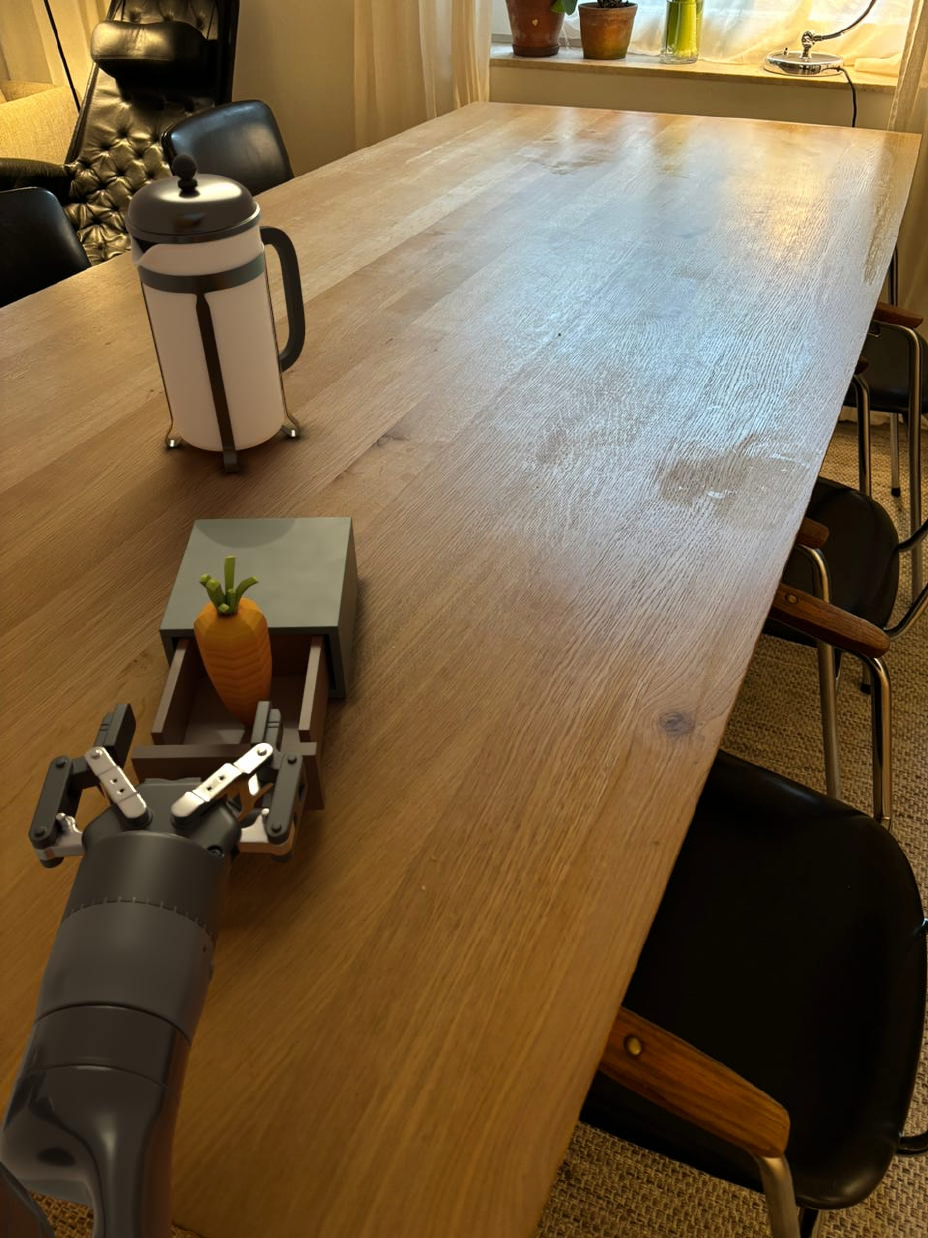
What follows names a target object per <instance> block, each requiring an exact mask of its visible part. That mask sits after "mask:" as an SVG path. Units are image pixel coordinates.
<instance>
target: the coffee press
mask: <svg viewBox="0 0 928 1238" xmlns="http://www.w3.org/2000/svg"><path fill="white" fill-rule="evenodd" d="M197 169H198V164H197V163H196V161H195V159H194V158H193V157H192V156H191V155H189V154H186V153H181V154H177V156H175V157H174V159H173V160H172V163H171V170H172V172H173V173H174V175H171V176H168V177H163V178H160V179H157V180H154V181H152V182H149V183H148V184H145V185H144V186H142V187H141V188H139V189H138V190H137V191H136V192H135V193H134V194H133V196H132V197H131V199H130V200H129V204H128V209H127V212H126V213H125V215H124V217H123V218H124V220H123V221H124V224H125V228H126V231H127V232H128V235H129V239H130V256H131V262H132V265H133V266H134V267H136V271H137V274H138V278H139V281H140V288H141V294H142V297H143V302H144V305H145V311H146V314H147V319H148V322H149V327H150V331H151V332H150V333H151V336H152V340H153V345H154V351H155V354H156V359H157V363H158V366H159V372H160V376H161V380H162V385H163V389H164V394H165V399H166V403H167V406H168V411H169V412H168V413H169V415H170V421H171V422H170V425H169V426H168V428H167V430H166V432H165V437H164V443H165V445H166V446H167V447H169V448H177V447H178V446H179V445H180V444H181V443H182V442H183V441H185V442H186V443H188V444H189V445H191V446H192V447H195V448H198V449H201V450H206V451H211V452H222V454H223V455H222V456H223V463H224V469H225V472H226V473H235V472H240V464H239V454H238V453H239V451H241V450H245V449H249V448H252V447H256V446H258V445H261V444H263V443H264V442H266V441H268V440H270V439H271V438H272V437H274V436H275V435H276V434H277V433H278V432H279V431H281V432H283V434H285V435H286V436H288V437H290V438H297V437H298V436H299V435H300V434H301V423H300V422H299V420H298V419H297V418H296V417H294V416H293V414H292V413H291V412H290V411H289V407H288V404H287V398H286V397H287V396H286V391H285V384H284V378H283V373H284V372H286V371H287V370H289V369H290V368H291V367H293V365H294V364H295V363H296V362H297V360H298V359H299V358H300V356H301V353H302V352H303V349H304V345H305V340H306V331H307V329H306V328H307V327H306V317H305V316H306V314H305V305H304V297H303V288H302V282H301V274H300V266H299V260H298V256H297V252H296V248H295V246H294V243H293V242H292V240H291V238H290V236H289V235H288V234H287V232H285V231H284V230H282V229H280V228H278V227H274V226H270V225H260V223H261V219H262V210H261V206H260V204H259V203H258V201H257V200H255V199H254V197H253V195H252V193H251V191H249V189H248V188H247V187H246V186H244V185H243V184H242V183H240V182H239V181H236V180H235V179H232V178H229V177H226V176H223V175H217V174H210V173H197V171H198V170H197ZM268 245H271V246H272V248H274V250H275V251H276V253H277V255H278V259H279V264H280V270H281V276H282V277H281V278H282V286H283V292H284V297H285V298H284V300H285V301H284V302H285V307H286V316H287V324H288V338H287V342H286V344H285V347H284V348H283V350H282V351H281V352H280V350H279V341H278V334H277V328H276V321H275V314H274V307H273V300H272V293H271V286H270V279H269V272H268V265H267V257H266V251H265V246H268ZM286 416H287V418H288V420H289V421H290V422H291V423H292V424H293V425H294V426H295V427H296V428H297V429H294V430H292V429H290V428H288V427H287V426H286V425H284V421H285V419H286ZM173 426H175V429H176V431H177V433H178V435H179V436H178V438H177V439H174V440H173V439H170V438H169V435H170V434H171V432H172V430H173Z"/></svg>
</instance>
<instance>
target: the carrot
mask: <svg viewBox="0 0 928 1238" xmlns="http://www.w3.org/2000/svg"><path fill="white" fill-rule="evenodd" d="M234 572H235V557H234V556H229V557H226V558H225V566H224V576H225V594H224V593H223V591H222V588H221V583H220V582H219V581H218V580H217V579H214V578H211V577H210V576H209V575H208V574H204V575H203V576H202V577H201V578H200V580H199V583H200V584H202V585H203V586H204V587H205V588H206V590H207V593H208V596H209V598H210V600H211V601H212V602H210V603H208V604H206V605H205V607H204V608H203V610H202V611H201V613H200V614H199V616H198V617H197V619H196V620H195V622H194V632H195V636H196V639H197V643H198V646H199V650H200V653H201V656H202V659H203V662H204V665H205V668H206V671H207V673H208V675H209V677H210V679H211V681H212V683H213V685H214V687H215V689H216V690H217V692H218V694H219V696H220V698H221V699H222V701H223V703H224V704H225V706H226V707H227V709H228V710H229V712H230V713H231V714H232V715H233V716H234V717H235V718H236V719H237V720H238V721H240V722H241V723H242V724H244V725H245V726H249V727H253V726H254V722H255V717H256V712H257V707H258V702H259V701H267V700H268V697H269V694H270V686H271V674H272V658H271V648H270V640H269V633H268V626H267V621H266V618H265V616H264V615H263V613H262V612H261V611H260V609H259V608H258V607H257V605H256V604H255V602H254V601H253V600H250V599H246V598H241V597H242V595H243V594H244V592H245V591H246V590H247V589H248V588H249V587H250V586H252V585H254V584H256V583H258V582H259V581H258V579H257V578H255V577H250V578H247V579H245V580H244V581H242V582H241V583H240V584H239V585H238V587H237V588H236V590H234Z"/></svg>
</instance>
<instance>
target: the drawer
mask: <svg viewBox="0 0 928 1238" xmlns="http://www.w3.org/2000/svg"><path fill="white" fill-rule="evenodd" d="M269 640H270V648H271V658H272V674H271V686H270V694H269V697H268V700H267V701H271V703H272V708H273V709H279V712H280V714H281V719H282V724H283V730H284V733H283V738H282V745H281V751H280V752H281V753H283V754H286V753H288V752H290V751H297V752H299V753H301V754H302V756H303V761H304V767H305V773H306V779H307V784H308V787H307V792H306V797H305V801H304V806H303V811H324V810H325V807H326V799H327V797H326V795H327V794H326V790H325V789H326V788H325V782H324V777H323V776H324V775H323V770H322V769H323V768H322V764H321V755H322V747H323V740H324V731H325V723H326V716H327V708H328V699H329V698H328V693H329V685H330V677H331V673H330V666H329V658H328V651H327V644H326V636H325V634H310V635H269ZM158 703H159V704H158V707H157V711H156V714H155V716H154V721H153V723H152V727H151V730H150V736H151V739H152V742H153V744H151V745H134V747H133V751H132V753H131V756H130V761H131V764H132V767H133V770H134V773H135V776H136V778H137V781H138V785H139V784H142V783H144V782H145V779H149V778H160V779H165V780H171V781H175V780H179V779H184V778H198V777H201V778H202V782H204V781H206V780H207V779H208V778H209V777H210V776H212V775H213V774H214V773H215V772H216V771H218V770H219V769H220V768H221V767H222V766H223V765H225V764H226V763H231V764H234V763H236V762H237V761H238V760H239V759H240V758H241V757H243V756H244V755H245V754H246V753H247V752H249V751H250V750H251V744H250V743H251V738H252V732H253V727H254V726H253V727H249V726H245V725H244V724H242V723H241V722H240V721H238V720H237V719H236V718H235V717H234V716H233V715H232V714H231V713H230V712H229V710H228V709H227V707H226V706H225V704H224V703H223V701H222V699H221V698H220V696H219V694H218V692H217V690H216V689H215V687H214V685H213V683H212V681H211V679H210V677H209V675H208V673H207V671H206V668H205V665H204V662H203V659H202V656H201V653H200V650H199V646H198V643H197V639H196V637H180V638H179V641H178V645H177V648H176V651H175V654H174V658H173V661H172V664H171V668H169V671H168V674H167V678H166V681H165V684H164V688H163V691H162V693H161V697H160V700H159V702H158ZM275 785H276V784H274V785H273V786H272V787H271V788H269V789H268V790H267V791H266V792H265V793H264V794H263V795H262V796H260V797H259V798H258V799H257V800H256V801H255V803H254V806H253V809H252V810H251V812H250V813H249V814H248V815H247V816H246V817H244V818H243V819H242V820H241V821H240V824H241V827H242V828H247V827H250V826H251V825H253V824H254V823H255V821H256V819H257V817H258V816H259V815H260V814H261V811H262V810H263V809H269V810H270V805H271V801H272V797H273V793H274V789H275ZM222 799H223V800H224V802H225V803H226V802H227V800H228V795H227V793H226V794H225V795H224V796H222Z"/></svg>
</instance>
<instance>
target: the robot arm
mask: <svg viewBox="0 0 928 1238" xmlns="http://www.w3.org/2000/svg"><path fill="white" fill-rule="evenodd" d="M136 730H137V720H136V717H135V714H134V710H133V707H132V704H131V703H130V702H127V703H125V702H124V703H123V702H122V703H119V702H118V703H116V704H115V707H114V710H113V711H108V712H107V713H106V714H105V715H104V716H103V718H102V720H101V722H100V725H99V728H98V730H97V734H96V736H95V740H94V742H93V746H92V747H91V748H89V749H88V750H87V751H86V752H85V754H84V755H83V756H79V757H76V758H72V757H71V756H69V755H67V754H65V755H64V754H62V755H58V756H56V757H54V758H53V759H51V761H50V763H49V765H48V769H47V771H46V774H45V779H44V781H43V785H42V788H41V791H40V794H39V798H38V800H37V804H36V807H35V811H34V814H33V817H32V819H31V823H30V826H29V830H28V834H27V836H28V839H29V841H30V843H31V845H32V848H33V850H34V852H35V853H36V856H37V858H38V859H39V862H40V863H41V866H42V867H43V868H45V869H54V868H56V867H58V866H60V865H61V864H62V863H63V862H64V860H65V858H67V857H81V860H80V861H79V865H78V867H77V871H76V874H75V877H74V880H73V882H72V887H71V889H70V892H69V896H68V899H67V901H66V904H65V907H64V910H63V913H62V915H61V918H60V919H61V920H60V923H59V926H58V928H57V932H56V935H55V938H54V941H53V944H52V947H51V950H50V953H49V956H48V959H47V961H46V965H45V968H44V971H43V975H42V979H41V981H40V986H39V992H38V995H37V996H38V997H37V1003H36V1009H35V1014H34V1020H33V1023H32V1026H31V1029H30V1032H29V1035H28V1038H27V1042H26V1045H25V1049H24V1051H23V1054H22V1057H21V1060H20V1064H19V1067H18V1070H17V1074H16V1076H15V1079H14V1082H13V1085H12V1088H11V1091H10V1095H9V1098H8V1101H7V1104H6V1107H5V1110H4V1114H3V1117H2V1120H1V1124H0V1238H57V1237H56V1234H55V1231H54V1229H53V1226H52V1224H51V1222H50V1220H49V1218H48V1216H47V1215H46V1213H45V1211H44V1209H43V1208H42V1207H41V1204H39V1202H37V1201H38V1200H36V1199H35V1198H34V1196H33V1194H32V1193H34V1194H37V1195H41V1196H43V1197H47V1198H50V1199H55V1200H59V1201H62V1202H67V1203H73V1204H75V1205H76V1204H77V1205H81V1206H84V1207H87V1208H90V1209H91V1210H92V1216H93V1217H92V1219H93V1220H92V1226H91V1227H92V1228H91V1234H90V1238H173V1226H172V1225H173V1220H172V1219H173V1217H172V1216H173V1215H172V1214H173V1213H172V1212H173V1211H172V1209H173V1208H172V1207H173V1206H172V1203H173V1202H172V1181H173V1157H174V1156H173V1155H174V1140H175V1134H176V1128H177V1122H178V1116H179V1111H180V1110H179V1109H180V1105H181V1100H182V1095H183V1091H184V1084H185V1080H186V1074H187V1069H188V1064H189V1059H190V1054H191V1050H192V1047H193V1042H194V1038H195V1035H196V1033H197V1032H196V1031H197V1029H198V1026H199V1024H200V1020H201V1018H202V1014H203V1011H204V1009H205V1004H206V1000H207V995H208V990H209V987H210V985H211V982H212V980H213V977H214V971H215V953H216V948H217V944H218V939H219V933H220V928H221V922H222V917H223V912H224V906H225V901H226V896H227V891H228V885H229V880H230V875H231V870H232V867H233V865H234V863H235V862H236V860H237V859H238V858H239V857H240V856H241V855H242V853H258V854H259V853H261V854H270V857H271V860H272V861H273V862H274V863H275V864H277V865H284V864H286V863H289V862H290V861H291V860H292V859H293V858H294V853H295V849H296V845H297V840H298V834H299V830H300V824H301V820H302V816H303V811H304V810H303V806H304V801H305V797H306V792H307V787H308V784H307V779H306V773H305V767H304V761H303V756H302V754H301V753H299V752H297V751H290V752H288V753H286V754H283V753H281V752H280V751H281V745H282V738H283V733H284V730H283V724H282V719H281V714H280V712H279V709H273V708H272V703H271V701H259V702H258V707H257V712H256V717H255V722H254V727H253V732H252V738H251V743H250V744H251V750H250V751H249V752H247V753H246V754H245V755H244V756H243V757H241V758H240V759H239V760H238V761H237V762H236V763H234V764H231V763H226V764H225V765H223V766H222V767H221V768H220V769H219V770H218V771H216V772H215V773H214V774H213V775H212V776H210V777H209V778H208V779H207V780H206V781H204V782H202V778H201V777H198V778H184V779H179V780H175V781H171V780H165V779H160V778H149V779H145V782H144V783H142V784H139V783H138V784H137V785H135V786H133V784H132V783H131V781H130V780H129V778H128V777H127V776H126V774H125V772H124V768H125V765H126V762H127V759H128V755H129V753H130V750H131V747H132V743H133V740H134V737H135V734H136V733H135V732H136ZM274 784H276V785H275V789H274V793H273V797H272V801H271V805H270V810H269V809H263V810H262V811H261V814H260V815H259V816H258V817H257V819H256V821H255V823H254V824H253V825H251V826H250V827H247V828H242V827H241V824H240V821H241V820H242V819H243V818H244V817H246V816H247V815H248V814H249V813H250V812H251V810H252V809H253V806H254V803H255V801H256V800H257V799H258V798H259V797H260V796H262V795H263V794H264V793H265V792H266V791H267V790H268V789H269V788H271V787H272V786H273V785H274ZM93 787H95V788H96V789H97V791H98V793H99V794H100V795H101V797H102V799H103V800H104V802H105V803H106V805H107V806H108V807H107V808H106V809H105V810H103V811H102V812H101V813H100V814H98V815H97V816H96V817H95V818H93V819H91V821H90V822H89V823H88V824H87V825H86V826H85V827H84V829H83V830H80V829H79V827H78V824H77V822H76V820H75V819H76V816H77V813H78V809H79V805H80V801H81V798H82V794H83V790H86V789H90V788H93ZM226 793H227V795H228V800H227V802H226V803H225V802H224V800H223V799H222V796H224V795H225V794H226ZM31 1192H32V1193H31Z"/></svg>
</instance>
